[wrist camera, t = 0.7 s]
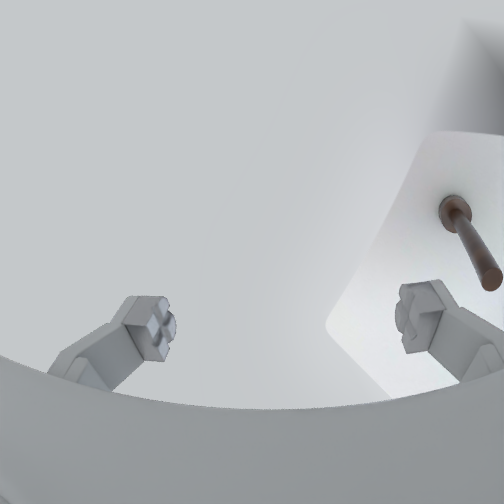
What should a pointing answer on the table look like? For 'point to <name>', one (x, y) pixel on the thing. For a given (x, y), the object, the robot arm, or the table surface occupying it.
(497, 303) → the table surface
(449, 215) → the stick
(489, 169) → the table surface
